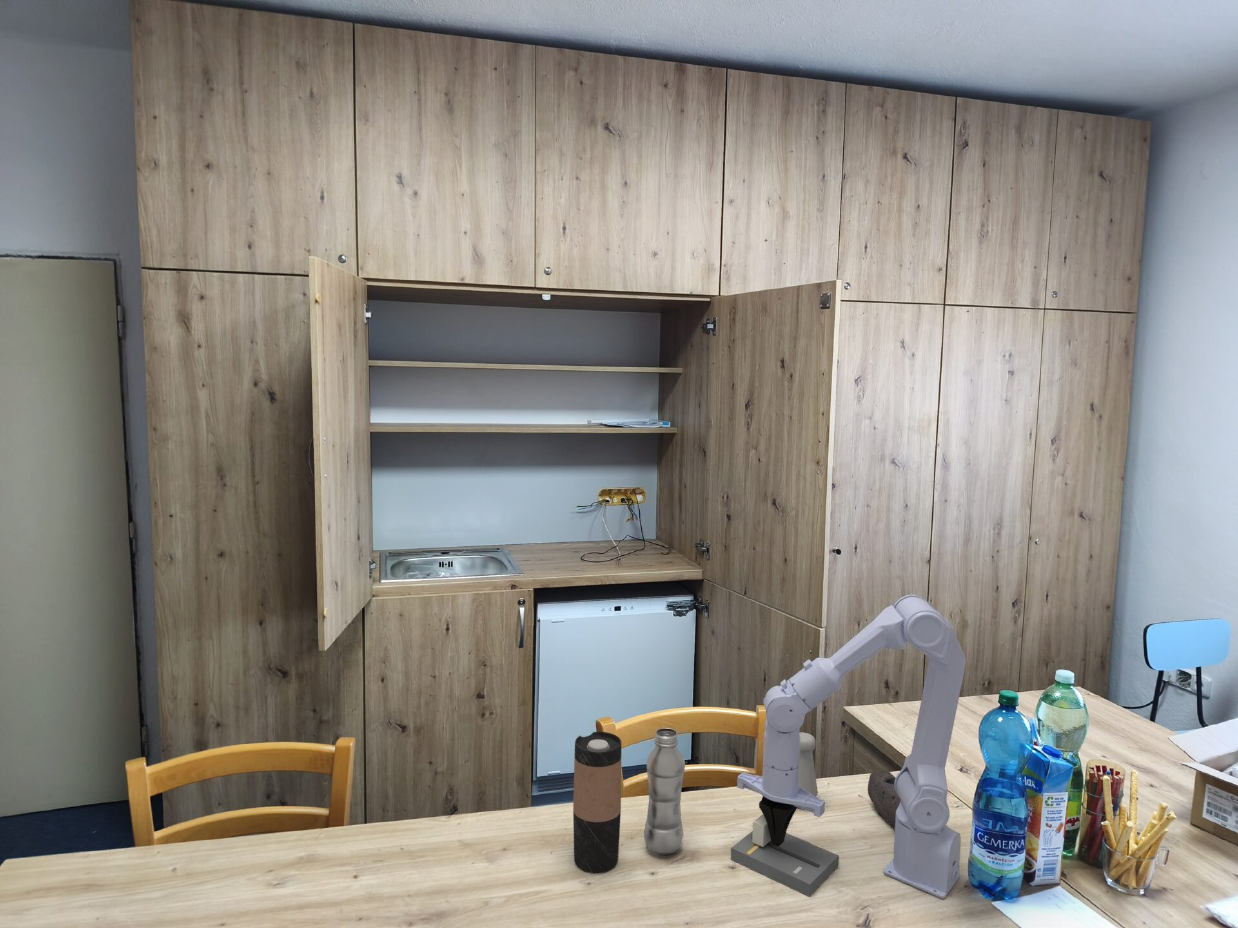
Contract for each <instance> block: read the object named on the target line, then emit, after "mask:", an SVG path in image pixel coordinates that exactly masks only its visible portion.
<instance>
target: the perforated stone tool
mask: <svg viewBox="0 0 1238 928" xmlns="http://www.w3.org/2000/svg"><path fill="white" fill-rule="evenodd" d="M895 778H896V776H895V775H893V773H892V772H890V771H888V770H883V769H877V770H873V772H871V773H870V775H869V778H868V782H867V795H868V797H869V799H870V800H871V803H872V804H873V806H874V807H875V809H876V811H877V812H878V814H879V815H880V816H881V817H882V818H883V819H884V820H885V821H886V822H887V823H888V824H889V825H890V826H891V827H892V828H893V829H895V821H896V810H897V808H898V806H899V804H900V802H901V799H900V797H899V796H898V794H897V793H896V790H895V786H894V783H895Z"/></svg>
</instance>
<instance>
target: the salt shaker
mask: <svg viewBox="0 0 1238 928" xmlns="http://www.w3.org/2000/svg"><path fill="white" fill-rule="evenodd" d="M799 735H800V758H799V782H798V787H800V788H802V789H803V790H805V791H807V792H808V793H810V794H812V795H813V796H815V797H817V796H818V793H819V791H818V784H817V777H816V769H815V762H814V754H813V751H814V750H815V748H816V744H817V743H816V739H815V737H814V736H813V735H812V734H810V733H807V732H801V731H799Z"/></svg>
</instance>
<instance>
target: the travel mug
mask: <svg viewBox="0 0 1238 928" xmlns="http://www.w3.org/2000/svg"><path fill="white" fill-rule="evenodd" d="M622 747H623V746H622V740H621V738H620V737H619V736H618V735H616V734H614V733H611V732H605V731H592V733H590V735H585V736H582V735H579V736H577V737H576V739H575V741H574V763H573V764H574V765H573V767H574V768H573V801H572V802H573V803H572V804H573V806H572V807H573V808H572V809H573V813H572V815H573V819H572V820H573V860H574V864H575V866H576V867H577V868H578V869H579V870H580V871H583V872H585V873H589V874H603V873H607V872H610V871H612V870H613V869H614V868H615V867H616V866H617V865H618V861H619V853H620V851H619V850H620V832H621V831H620V830H621V817H622V816H621V815H622V814H621V813H622V811H621V810H622Z"/></svg>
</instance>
